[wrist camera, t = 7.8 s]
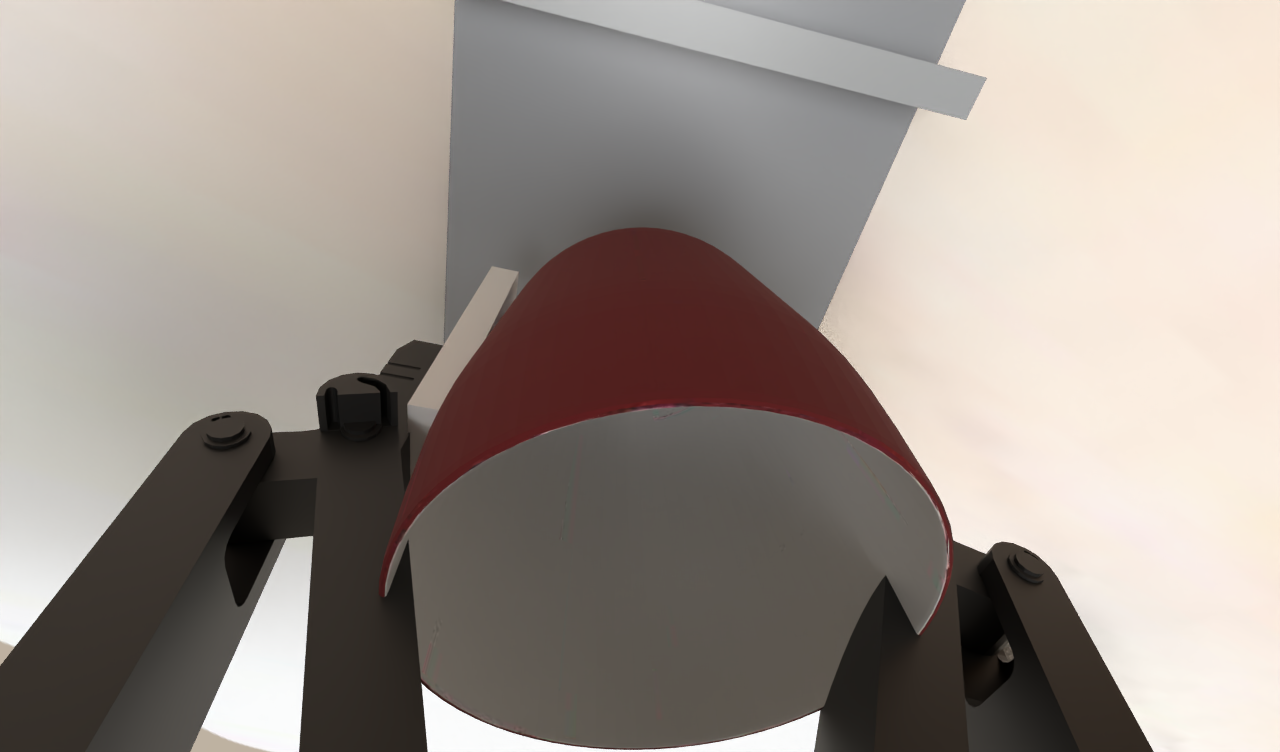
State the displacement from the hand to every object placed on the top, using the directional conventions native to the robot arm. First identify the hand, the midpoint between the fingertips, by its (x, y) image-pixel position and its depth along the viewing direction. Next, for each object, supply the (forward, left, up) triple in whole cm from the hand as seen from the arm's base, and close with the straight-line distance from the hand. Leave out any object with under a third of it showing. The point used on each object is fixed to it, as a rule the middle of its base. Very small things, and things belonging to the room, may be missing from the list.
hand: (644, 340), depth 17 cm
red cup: (0, 0, 0) cm, 0 cm away
